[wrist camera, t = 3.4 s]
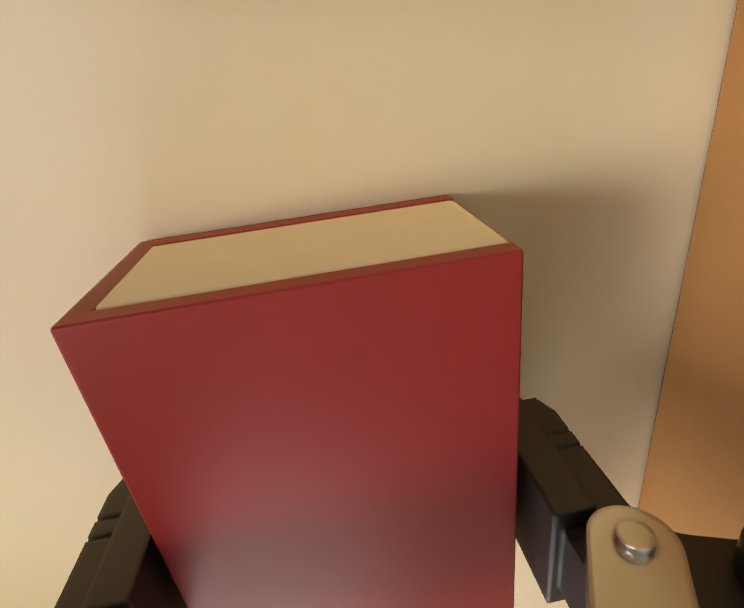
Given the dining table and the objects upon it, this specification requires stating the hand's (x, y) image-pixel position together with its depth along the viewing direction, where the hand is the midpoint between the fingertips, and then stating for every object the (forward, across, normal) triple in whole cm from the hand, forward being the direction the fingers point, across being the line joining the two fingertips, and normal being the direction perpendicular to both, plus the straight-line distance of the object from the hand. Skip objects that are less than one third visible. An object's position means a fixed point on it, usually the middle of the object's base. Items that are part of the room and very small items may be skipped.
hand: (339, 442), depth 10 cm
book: (+1, 0, 0) cm, 1 cm away
